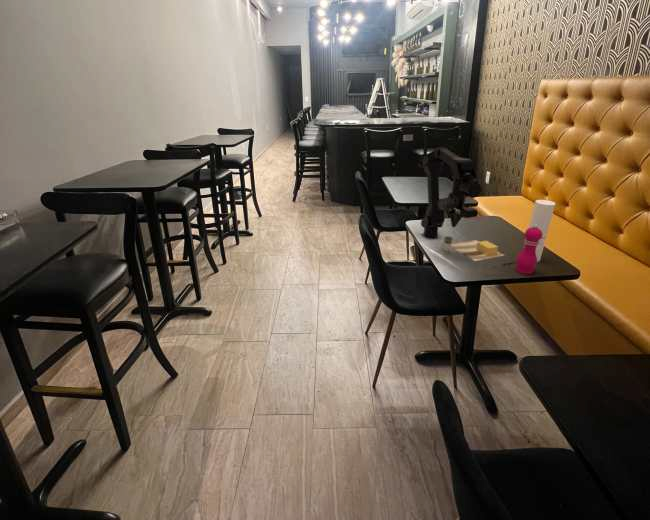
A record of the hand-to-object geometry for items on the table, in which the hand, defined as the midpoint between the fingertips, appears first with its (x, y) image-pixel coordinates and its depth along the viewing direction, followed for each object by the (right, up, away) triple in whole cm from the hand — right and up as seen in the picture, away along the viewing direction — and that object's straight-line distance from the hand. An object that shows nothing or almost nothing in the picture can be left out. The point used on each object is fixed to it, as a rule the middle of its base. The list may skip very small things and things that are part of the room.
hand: (453, 226), depth 165 cm
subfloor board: (+12, -11, +7) cm, 18 cm away
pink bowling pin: (+26, -19, -8) cm, 33 cm away
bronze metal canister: (-1, -12, +5) cm, 13 cm away
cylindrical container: (+34, -14, +2) cm, 37 cm away
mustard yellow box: (+16, -11, +5) cm, 19 cm away
